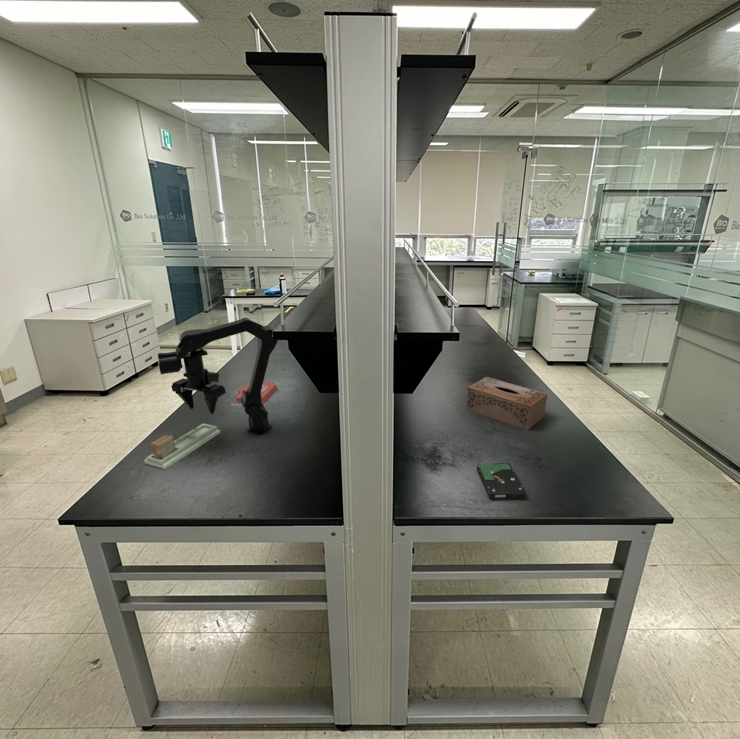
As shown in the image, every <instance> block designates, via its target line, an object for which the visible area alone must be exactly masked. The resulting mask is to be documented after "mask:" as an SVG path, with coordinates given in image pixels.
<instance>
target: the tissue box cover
mask: <svg viewBox="0 0 740 739" xmlns="http://www.w3.org/2000/svg"><path fill="white" fill-rule="evenodd" d="M466 396H467V397H466V405H465V406H466V410H468V411H471V412H475V413H477V414H480V415H481V416H486V417H488V418H491V419H493V420H497V421H500V422H502V423H506V424H508V425H511V426H514V427H517V428H520V429H522V430H526V431H529V430H530V429H531V428H532V427H534V426H535V425H536V424H537V423H538V422H540V421H541V420H542V419H543V418H544V417H545V413H546V406H547V400H548V393H546V392H542V391H539V390H535V389H533V388H532V389H531V388H528V387H524V386H521V385H518V384H514V383H510V382H506V381H503V380H500V379H496V378H492V377H488V376H485V377H484V378H482V379H480V380H478V381H476V382H474V383H471V385H469V386H467V393H466Z"/></svg>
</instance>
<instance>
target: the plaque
mask: <svg viewBox="0 0 740 739" xmlns="http://www.w3.org/2000/svg"><path fill="white" fill-rule="evenodd" d="M249 386H250V384H248V385H247V386H246V385H245V386H242V387H239V388H237V391H238V394H237V395H236V396H235V397H236V398H235V400H236V403H237V404H239V405H240V404H241V405H242V403H241V401H240V399H241V397H242V391H243V390H244V391H247V389H248V388H249ZM277 387H278V386H277V383H276V382H270V381H269V382H268V381H267V382H266V381H263V385H262V389H261V403H262V404H263V405H264V404H265V403H266V402H267V400H269V399H270V398H271V396H272V395H274V393H276V392H277V390H278V388H277Z"/></svg>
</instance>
